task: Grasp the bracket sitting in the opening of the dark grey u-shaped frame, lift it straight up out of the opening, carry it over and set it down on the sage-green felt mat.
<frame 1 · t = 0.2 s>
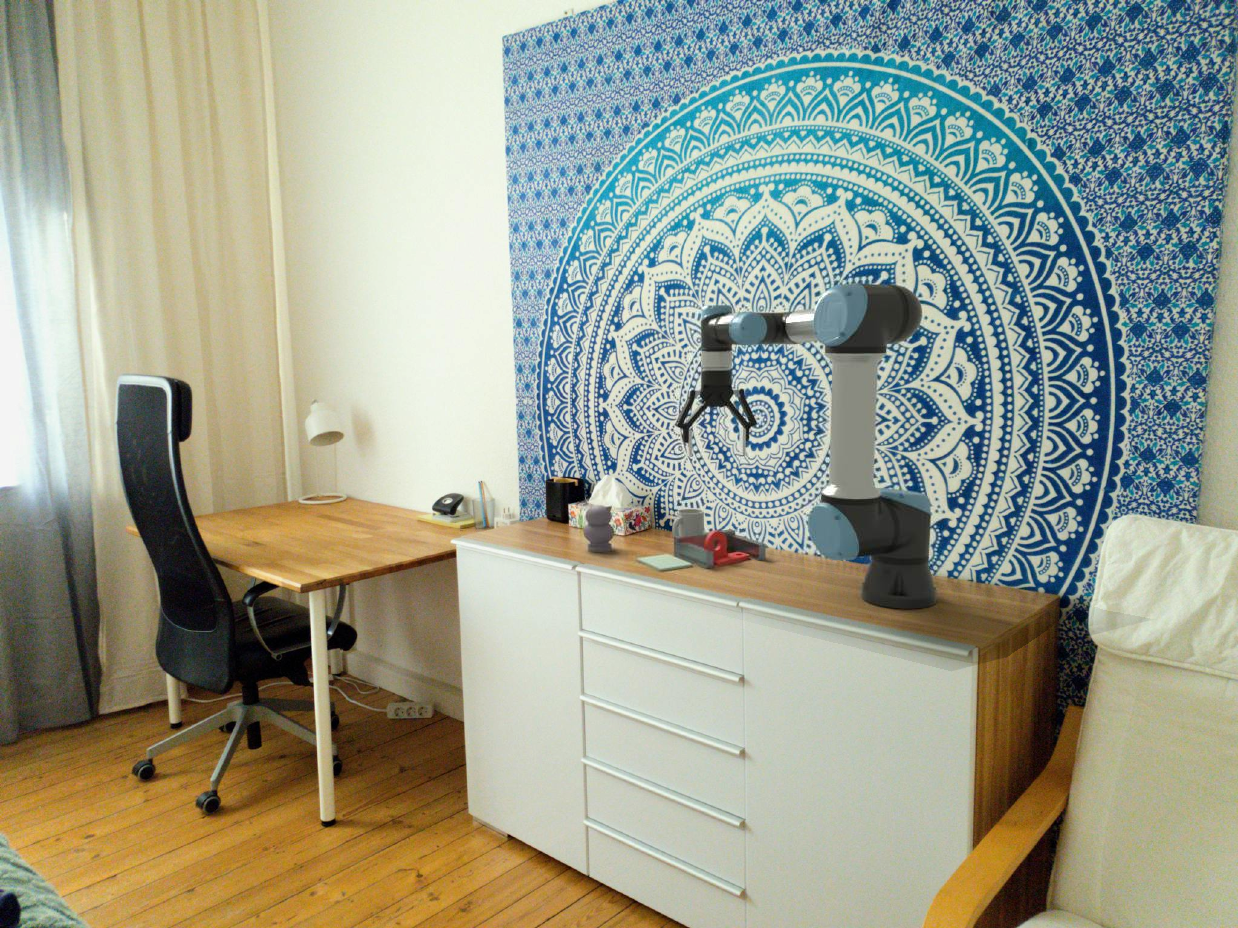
hand: (716, 455, 218), 26 cm above the table, fingers open, 13 cm apart
cat figurine: (599, 550, 233), on the table
mat: (664, 563, 217), on the table
cup: (686, 545, 238), on the table
grey u-shaped frame: (726, 560, 220), on the table
bracket: (727, 562, 219), on the table
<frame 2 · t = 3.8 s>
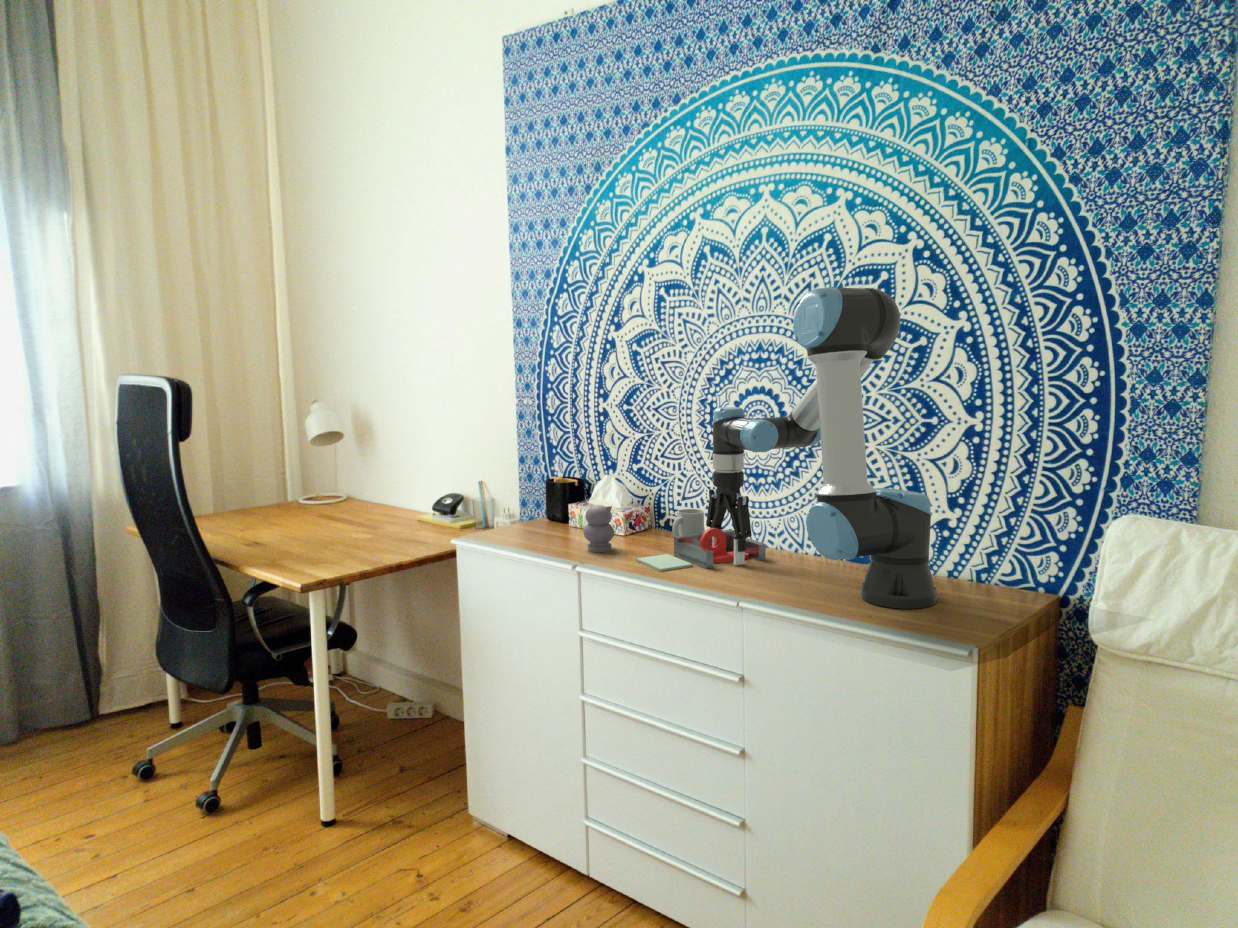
hand: (728, 559, 219), 0 cm above the table, fingers open, 9 cm apart
bracket: (725, 560, 221), on the table, touching gripper
everything else where it was.
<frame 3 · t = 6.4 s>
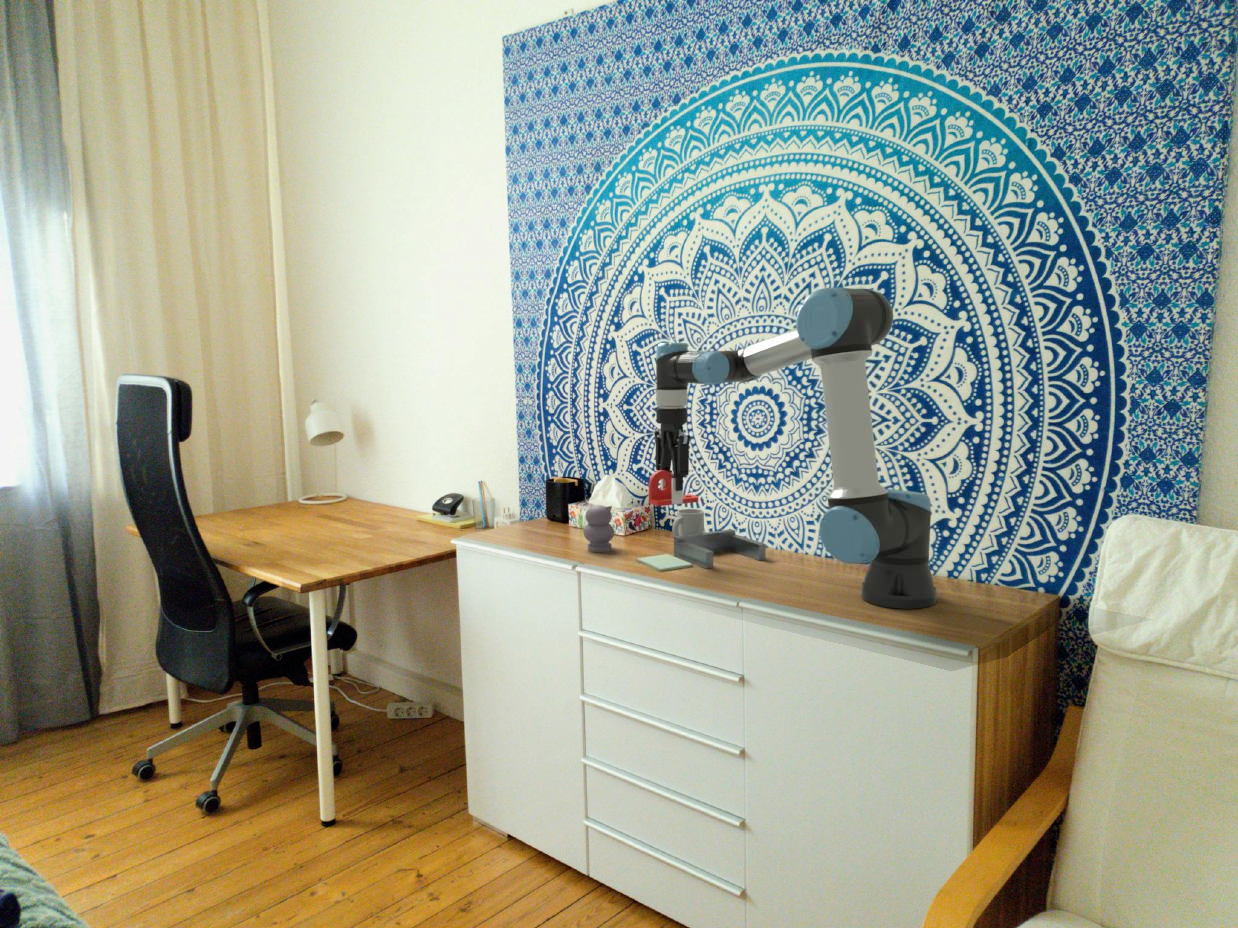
hand: (671, 501, 216), 15 cm above the table, fingers closed on bracket, 4 cm apart
bracket: (674, 503, 216), point 15 cm above the table, touching gripper
everything else where it was.
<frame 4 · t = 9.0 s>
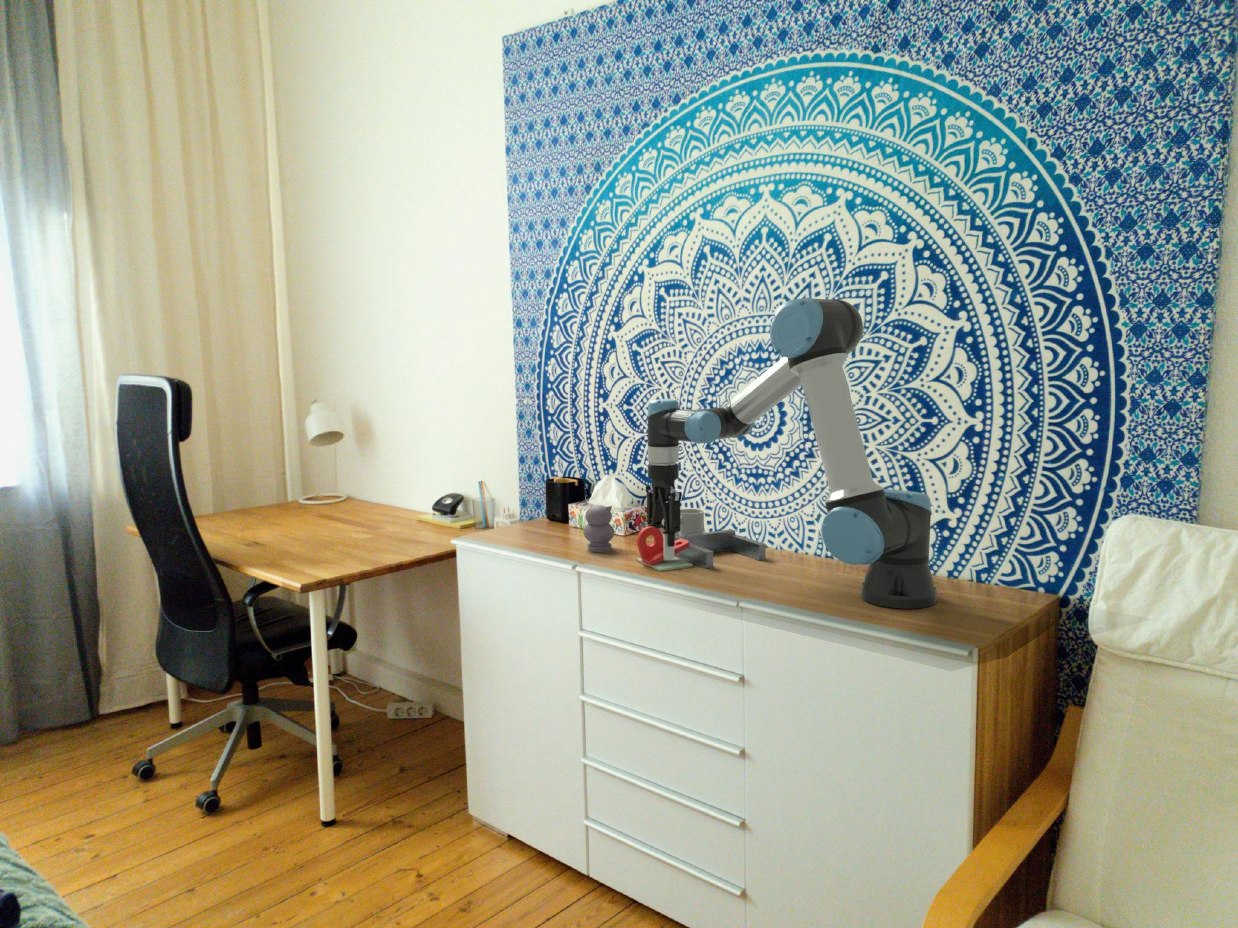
hand: (663, 556, 217), 2 cm above the table, fingers closed on bracket, 5 cm apart
bracket: (667, 554, 218), point 2 cm above the table, touching gripper, mat, grey u-shaped frame
everything else where it was.
when the fingers open (1 cm above the table, at t = 9.8 s): bracket stays where it is, resting on mat, grey u-shaped frame.
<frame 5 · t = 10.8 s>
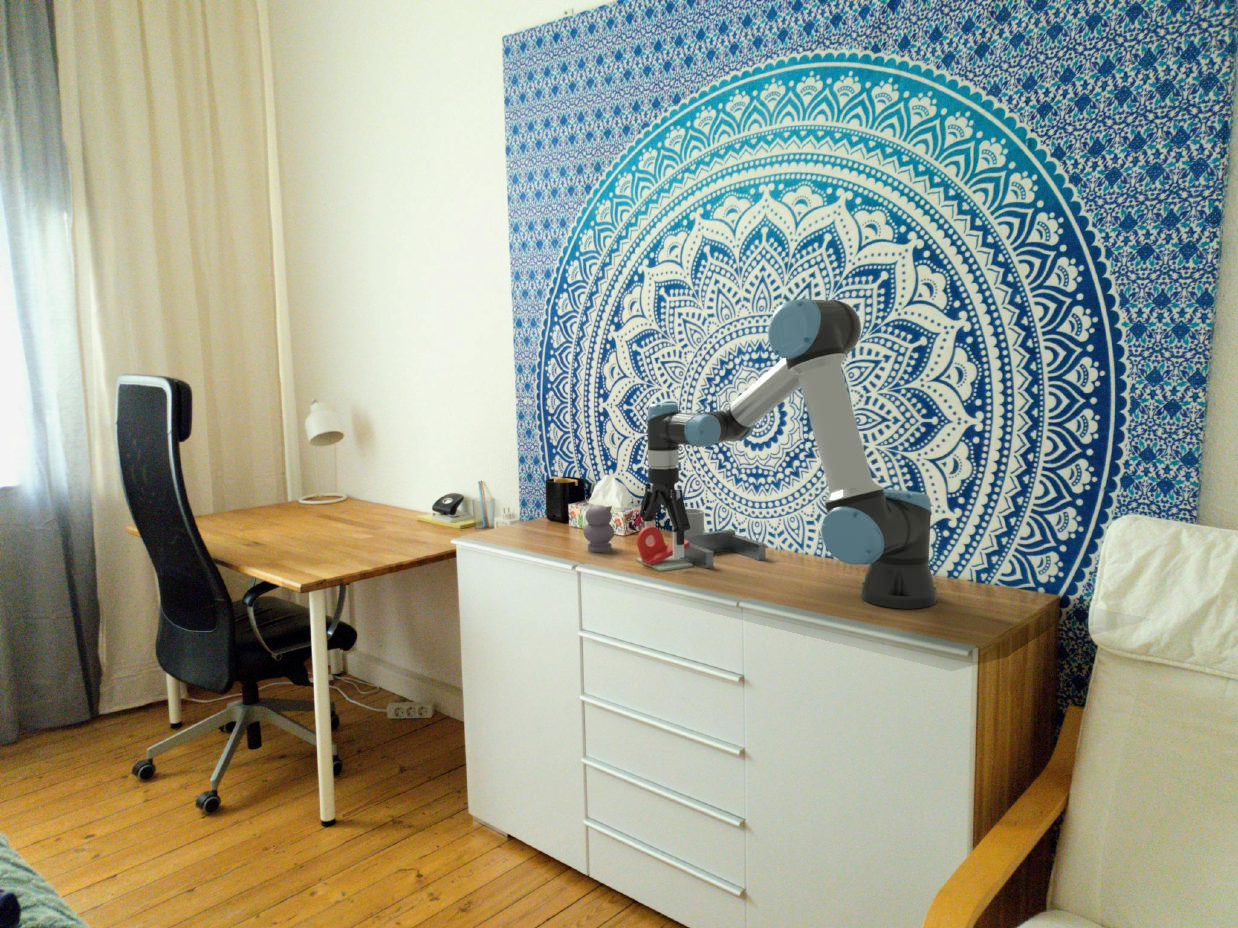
hand: (664, 552, 217), 3 cm above the table, fingers open, 13 cm apart
bracket: (667, 554, 218), point 2 cm above the table, touching mat, grey u-shaped frame
everything else where it was.
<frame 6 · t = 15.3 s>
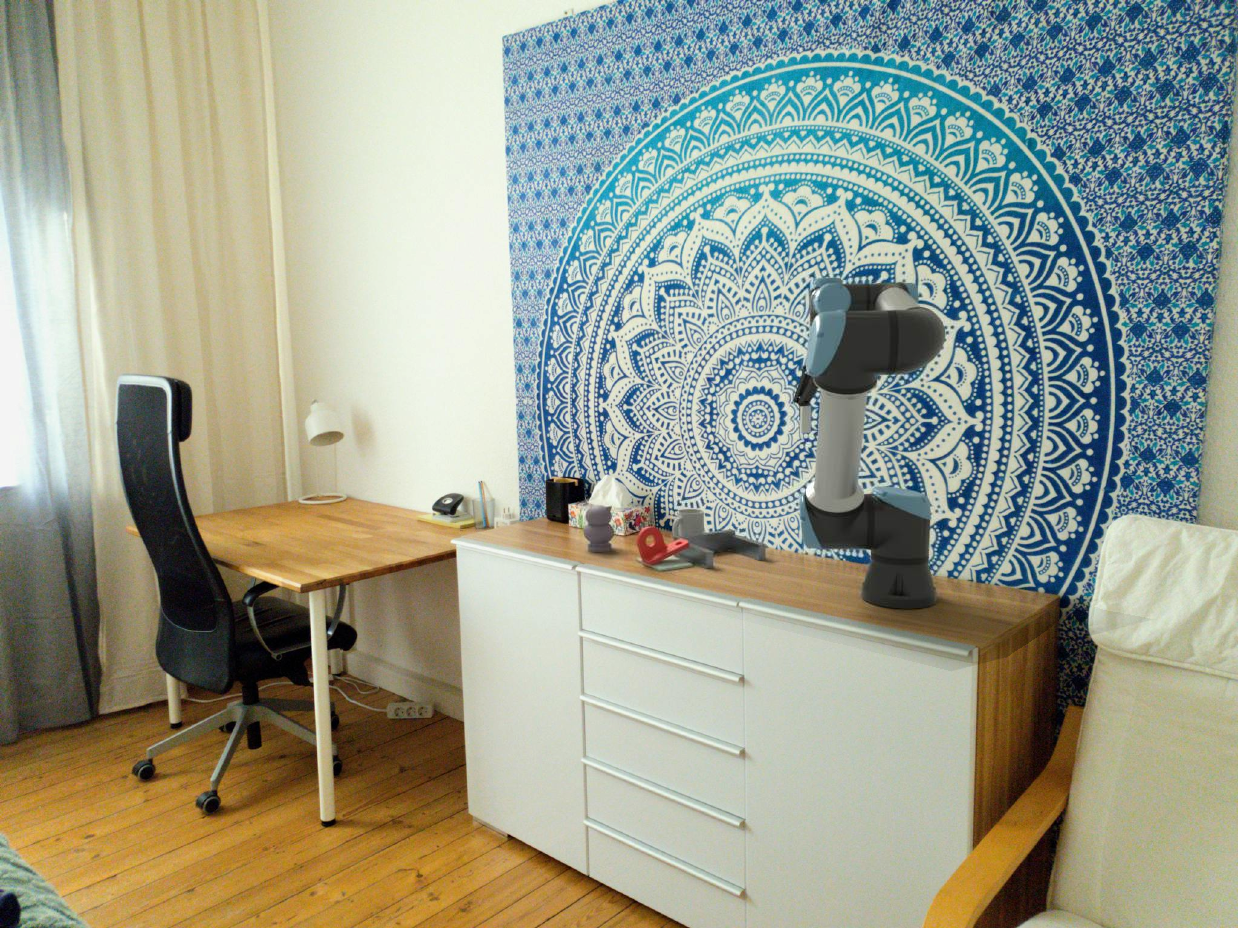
hand: (823, 435, 209), 32 cm above the table, fingers open, 13 cm apart
nothing on the table moved.
at the end: bracket inside the target area on the mat (1.0 cm from its centre), point 2.1 cm above the mat's base; the gripper is holding nothing; bracket moved 15.5 cm from its start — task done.
